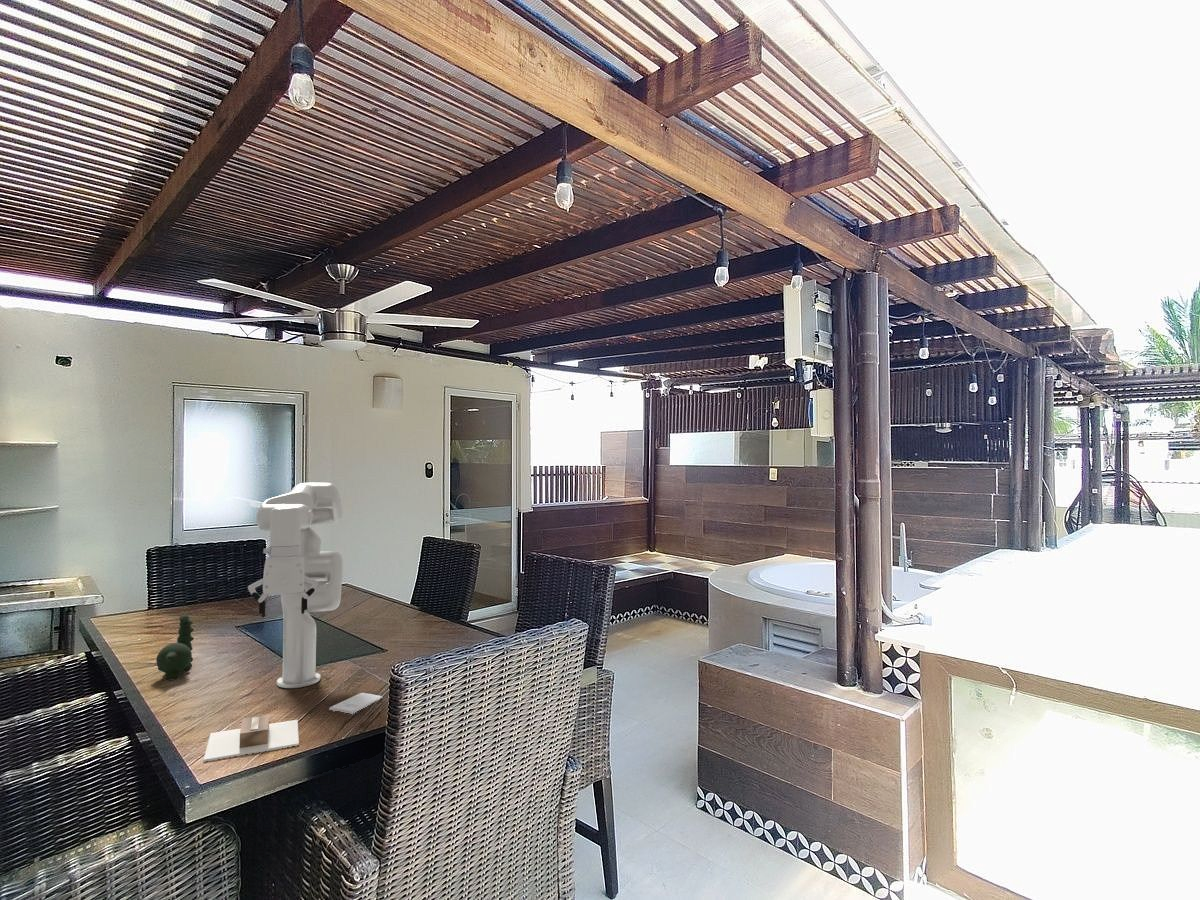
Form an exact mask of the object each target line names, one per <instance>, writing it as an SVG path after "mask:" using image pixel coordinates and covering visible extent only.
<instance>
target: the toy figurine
mask: <svg viewBox="0 0 1200 900" xmlns="http://www.w3.org/2000/svg"><path fill="white" fill-rule="evenodd" d="M179 621H180V622H179V629H178V631H177V632H178V637H177V638H176V642H174V643H170V644H167V645H165V646H164V647H162V649H160V650H159V652H158V654H157V656H156V660H155V661H156V662H155V663H156V666H157V670H158V671H160V672H163V673H164V679H166V680H167V679H168V680H169V679H175V680H177V679H179V678H180V676H181V674H182V673H181V672H184V673H185V672H186V673H187V672H189V671H190V670H191V668H192V666H193V664H192V662H193V660H194V658H193V654H192V651H193V646H192V641H194V636H192V635H191V634H192V632H194V628H193V627H191V626H192V624H193V620H191V619H190V617H189V615H188V614H187V613H183V614H181V615H180V616H179ZM168 680H167V681H168ZM169 681H170V680H169Z"/></svg>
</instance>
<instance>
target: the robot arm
mask: <svg viewBox="0 0 1200 900" xmlns="http://www.w3.org/2000/svg"><path fill="white" fill-rule="evenodd" d="M340 495H341V494H340V491H339V489H338V487H337V486H336V484H333V482H301V483H299V484H296V485H295V486H294V487H292V489H291V490H290V491H289V493H284V494H281V495H278V496H274V497H271V498H266V500H264V501H263V502H262V504H261V505H260V506H259V507H258V509H257V513H256V518H255V520H256V526H257V527H258V528H259V529H260V530H262V531H264V532H269V546H268V547H266V548H263V551H262V553H263V554H267V555H269V556H267V557H266V558H265V561H264V566H263V567H264V568H263V578H261V579H259V580H257V581H255V582H253V583H251V584H249V585H248V586H247V590H248V591H249V594H250V595H251V597H252V598H254V599H255V600H256V601H257V602H258V604H259V605H258V614H260V615H261V618H265V616H266V598H267V597H268V596H280V601H281V608H282V609H281V610H282V615H283V616H282V618H283V619H282V620H283V632H282V633H283V634H282V635H283V636H282V637H283V638H282V642H283V643H282V676H280V677H278V678H277V680H276V685H277V686H278V687H279V688H284V689H298V688H303V687H309V686H312V685H315V684H317V683H318V682H319V681H320V680H321V674H320V673H319V672H316V668H317V667H316V660H317V658H316V657H317V654H316V653H317V624H316V623H317V622H316V621H315V619H314V618H313V617H312V616H311V615H310V613H314V612H328V611H329V612H330V611H335V610H337V609H338V608H339V607H340V604H341V601H342V600H341V598H342V587H343V573H344V561H343V557H342V555H341V554H340V552H338V551H334V550H322V551H321V545H322V540H321V537H320V536H319V535H318V533H317V532H316V530H314V529H313V528H311V527H310V526H311V525H312V526H313V525H317V526H318V525H335V524H338V523H339V522H340V521H341V519H342V517H343V507H342V500H341V496H340ZM260 586H262V593H261V594H260V593H259V592H257V591H256V588H258V587H260Z"/></svg>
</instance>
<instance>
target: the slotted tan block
mask: <svg viewBox="0 0 1200 900" xmlns="http://www.w3.org/2000/svg"><path fill="white" fill-rule="evenodd" d="M269 724H270V714H264V715H257V716H251V717H244V718H242V720H241V725H240V726H241V727H240V728H241V730H240V745H239V748H245V747H251V746H257V745H263V744H267V743H268V733H269Z"/></svg>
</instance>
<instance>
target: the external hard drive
mask: <svg viewBox="0 0 1200 900" xmlns="http://www.w3.org/2000/svg"><path fill="white" fill-rule="evenodd" d="M380 698H383V696H382V695H377V694H372V693H367V692H360V693H358V694H356V695H353V696H351V697H348V698H347V699H345V700H343V701H340V702H338V703H336V704H334V705H332V706H329V710H328V711H330V710H333V711H332V712H335V711H340V712H339V713H342V712H345V713H350V714H352V715H354V714H356V713H358V712H357V711H359V710H361V709H363V708H365V707H367V706H368V705H370V704H371V703H373V702H375V701H377V700H379V699H380ZM367 708H368V707H367ZM365 709H366V708H365ZM363 710H364V709H363ZM361 711H362V710H361ZM355 712H356V713H355ZM359 712H360V711H359ZM345 713H344V714H345ZM353 713H354V714H353ZM350 714H349V715H350Z"/></svg>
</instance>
